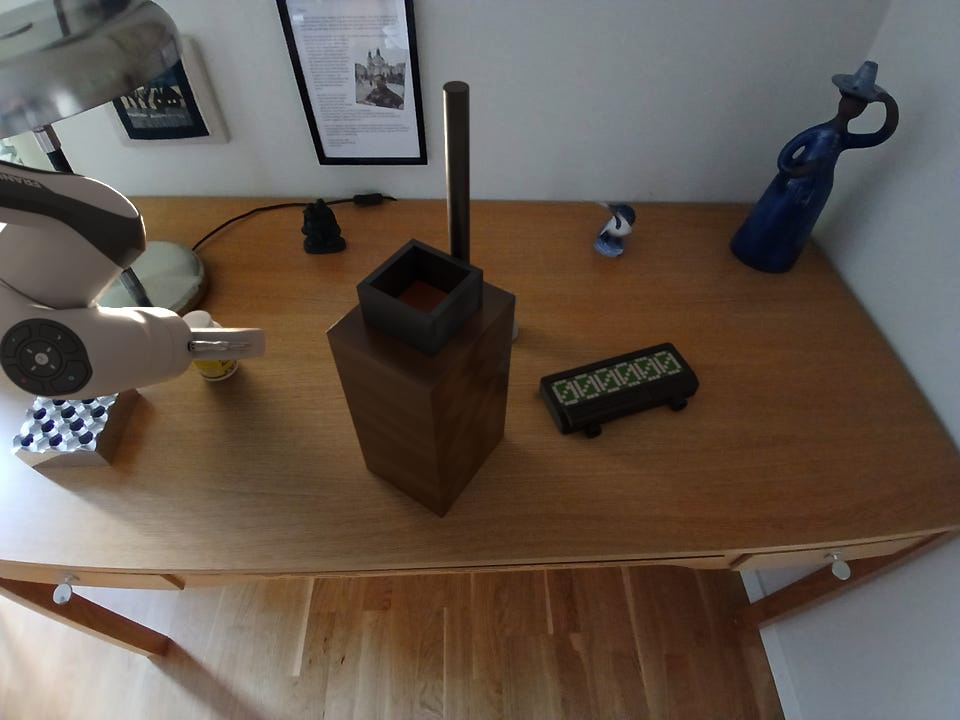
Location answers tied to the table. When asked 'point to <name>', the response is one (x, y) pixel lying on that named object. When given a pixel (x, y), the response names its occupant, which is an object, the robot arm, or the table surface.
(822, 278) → the table surface
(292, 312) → the table surface
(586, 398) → the digital display
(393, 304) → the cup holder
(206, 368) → the supplement bottle
